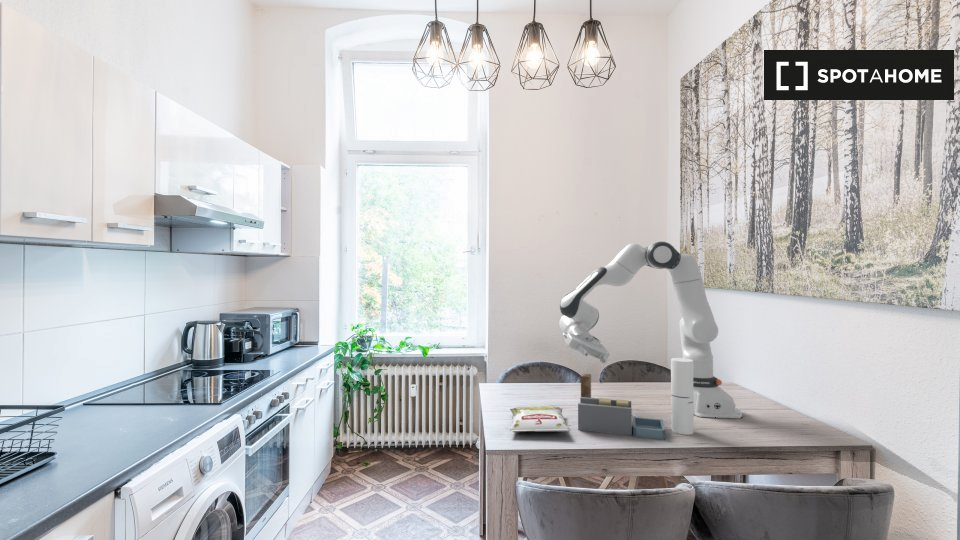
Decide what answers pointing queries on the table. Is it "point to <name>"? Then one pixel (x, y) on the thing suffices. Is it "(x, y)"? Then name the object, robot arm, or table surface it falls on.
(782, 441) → the table surface
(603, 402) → the tan cube
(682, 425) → the cylindrical container
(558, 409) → the frozen beans
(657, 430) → the tray
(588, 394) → the tall wooden post
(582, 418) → the channel
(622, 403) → the tan wooden cube
